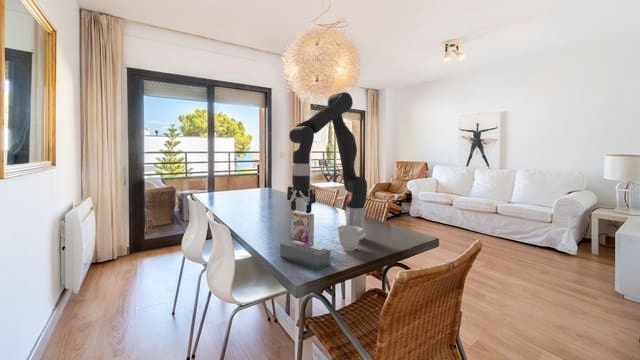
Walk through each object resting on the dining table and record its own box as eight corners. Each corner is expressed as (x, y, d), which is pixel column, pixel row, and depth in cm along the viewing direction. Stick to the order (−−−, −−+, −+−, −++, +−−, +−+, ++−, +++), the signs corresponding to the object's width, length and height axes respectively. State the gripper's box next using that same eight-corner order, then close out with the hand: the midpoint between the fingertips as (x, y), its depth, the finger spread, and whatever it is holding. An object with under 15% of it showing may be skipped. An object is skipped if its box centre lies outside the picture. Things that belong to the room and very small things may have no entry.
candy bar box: (289, 244, 138) (289, 212, 136) (296, 242, 142) (296, 210, 140) (307, 249, 132) (308, 215, 130) (314, 246, 136) (314, 213, 134)
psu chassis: (291, 251, 128) (291, 238, 128) (330, 264, 115) (330, 249, 114) (280, 256, 123) (280, 242, 122) (319, 270, 109) (319, 254, 109)
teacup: (371, 252, 130) (372, 230, 129) (341, 254, 125) (342, 233, 124) (360, 243, 141) (361, 224, 140) (332, 245, 137) (333, 226, 136)
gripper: (319, 174, 117) (319, 212, 119) (295, 172, 126) (294, 208, 128) (308, 175, 111) (307, 215, 113) (282, 173, 120) (282, 210, 122)
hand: (300, 211), depth 121 cm, fingers open, 8 cm apart
